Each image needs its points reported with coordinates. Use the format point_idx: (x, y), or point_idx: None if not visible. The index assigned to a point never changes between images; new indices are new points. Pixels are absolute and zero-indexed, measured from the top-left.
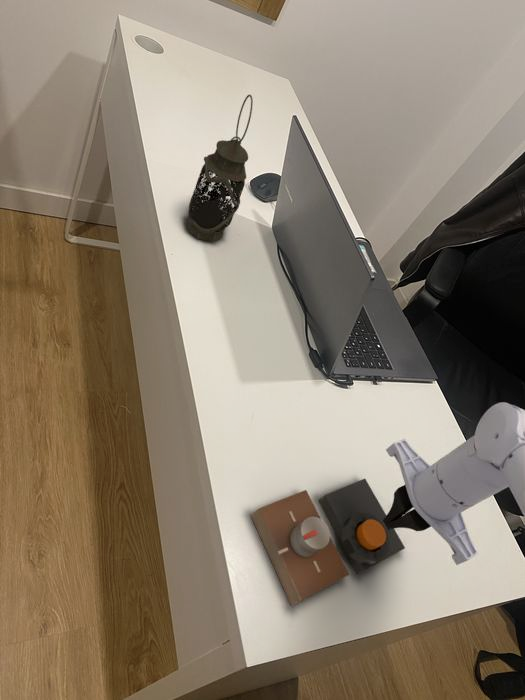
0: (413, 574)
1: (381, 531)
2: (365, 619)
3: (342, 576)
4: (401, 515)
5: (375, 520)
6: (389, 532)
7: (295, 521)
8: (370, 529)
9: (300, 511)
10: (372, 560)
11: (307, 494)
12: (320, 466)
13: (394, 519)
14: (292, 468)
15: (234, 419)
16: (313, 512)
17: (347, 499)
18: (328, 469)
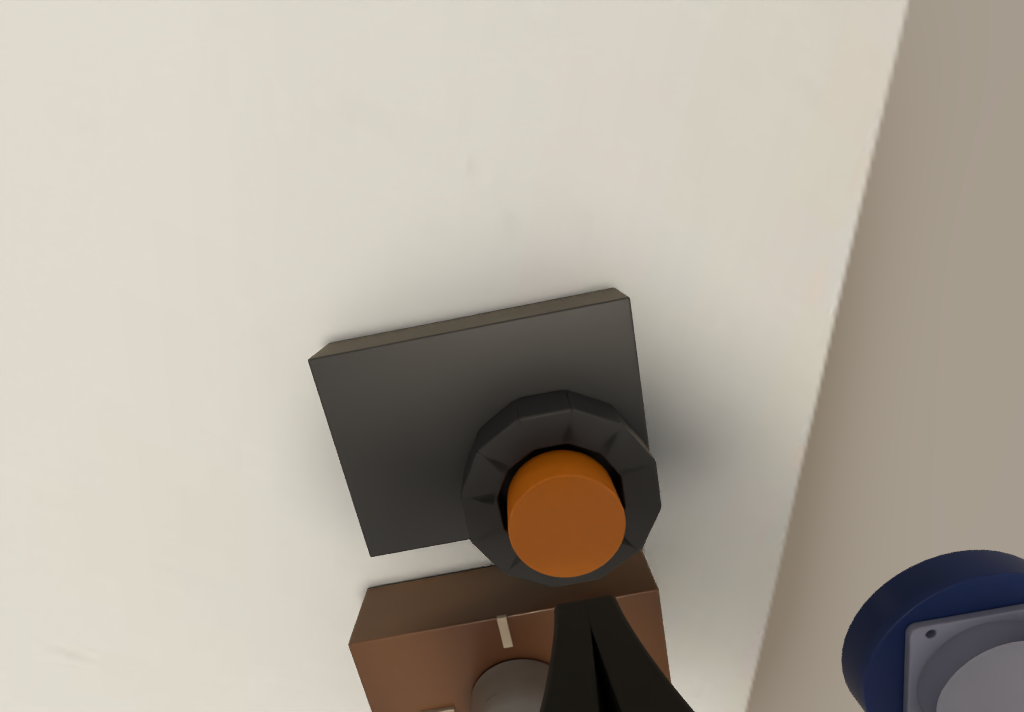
0: (706, 250)
1: (570, 492)
2: (763, 495)
3: (657, 613)
4: (599, 687)
5: (518, 501)
6: (553, 344)
7: (455, 705)
8: (551, 542)
9: (424, 684)
10: (651, 524)
11: (366, 645)
12: (253, 474)
13: (604, 709)
14: (262, 575)
15: (91, 707)
16: (433, 642)
17: (395, 478)
18: (265, 446)
